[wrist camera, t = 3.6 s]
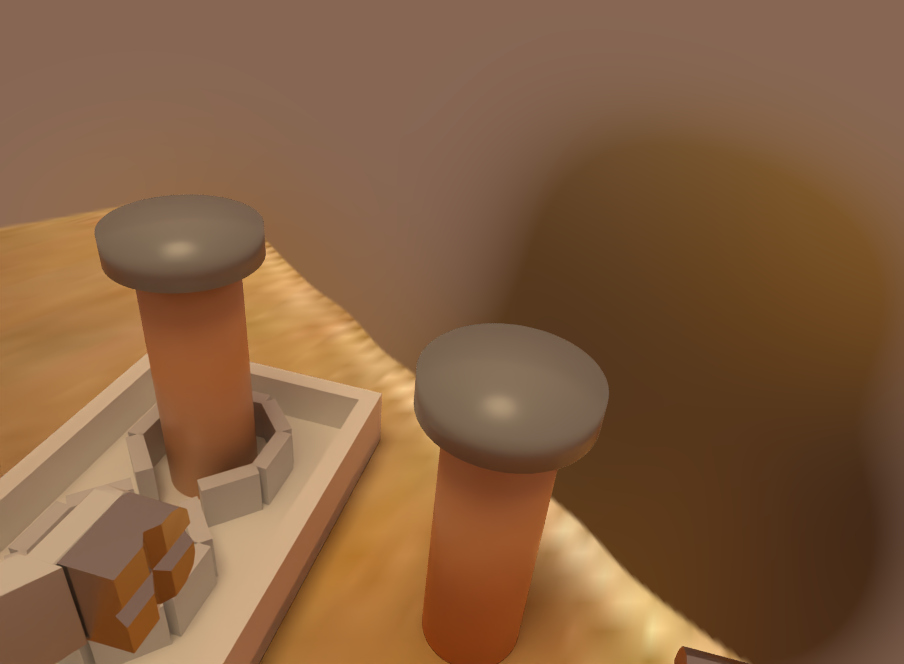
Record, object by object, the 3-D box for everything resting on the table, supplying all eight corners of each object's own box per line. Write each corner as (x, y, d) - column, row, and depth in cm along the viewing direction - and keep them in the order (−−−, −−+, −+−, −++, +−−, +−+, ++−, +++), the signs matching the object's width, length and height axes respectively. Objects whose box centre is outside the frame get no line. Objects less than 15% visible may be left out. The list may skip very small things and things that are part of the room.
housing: (185, 799, 24) (172, 749, 22) (-138, 681, 27) (-174, 626, 25) (380, 439, 41) (382, 393, 39) (169, 386, 43) (161, 340, 41)
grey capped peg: (142, 442, 37) (91, 201, 30) (264, 416, 40) (247, 189, 32) (154, 532, 32) (97, 271, 25) (293, 496, 35) (279, 250, 27)
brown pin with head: (377, 587, 32) (388, 340, 25) (499, 546, 35) (543, 312, 27) (433, 719, 27) (469, 462, 20) (571, 660, 30) (649, 413, 22)
